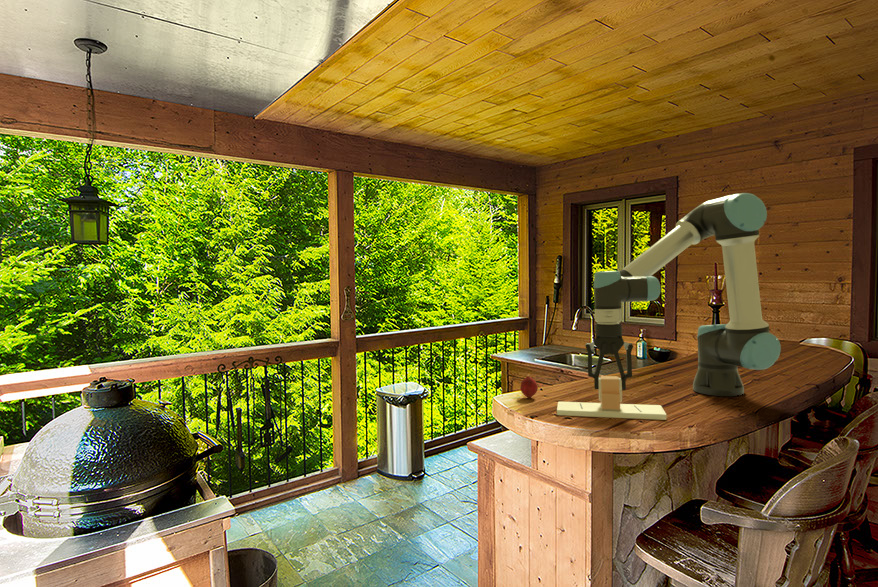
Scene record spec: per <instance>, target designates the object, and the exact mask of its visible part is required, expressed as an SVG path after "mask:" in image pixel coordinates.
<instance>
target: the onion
mask: <svg viewBox="0 0 878 587" xmlns="http://www.w3.org/2000/svg"><path fill="white" fill-rule="evenodd" d="M520 392H521V393H522V394H523V395H524V396H525V397H527V399H531V398H532V397H533V396H535V395H536V394H537V392H538V384H537V381H536V380H535V379H534V378H532V377H531V374H527V375H526V377H525V378H524V379H523V380H522V381H521V383H520Z"/></svg>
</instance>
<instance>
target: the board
mask: <svg viewBox="0 0 878 587" xmlns="http://www.w3.org/2000/svg"><path fill="white" fill-rule="evenodd" d="M556 406H557V408H556V415H557V416H572V417H593V418H595V417H596V418H613V419H614V418H617V419H618V418H619V419H639V420H641V419H642V420H657V421H658V420H663V421H664V420H665V421H666V420H667V413H666V411H665V410H664V408H663V406H662V405H660V404H640V403H639V404H638V403H637V404H635V403H620V412H618V411H602V406H601V402H582V401H581V402H580V401H579V402H578V401H557V405H556Z"/></svg>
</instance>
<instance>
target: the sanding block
mask: <svg viewBox="0 0 878 587" xmlns="http://www.w3.org/2000/svg"><path fill="white" fill-rule="evenodd" d="M600 378H601V395H602V401H600V403H601V406H602V411H618V412H620V404H621V402H620V393H619V378H620V377H619V376H618V375H617V376H615V375H614V376H612V375H610V376H609V375H601V376H600Z"/></svg>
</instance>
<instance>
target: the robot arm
mask: <svg viewBox="0 0 878 587" xmlns="http://www.w3.org/2000/svg"><path fill="white" fill-rule="evenodd" d="M767 217H768V210H767V208H766V205H765V203H764V202H763V201H762V199H761V198H759V197H758V196H757V195H755V194H752V193H749V192H741V193H733V194H729V195H725V196H722V197H718V198H714V199H709V200H707V201H705V202H703V203H701V204H698V206H697V207H695V208H693V209H692V210H691V211H690V212H688V213H687V214H686V215H684V216H683V217H681V219H679V220H678V221H677V222H676V223H675V227H674V228H673V229H672V230H670V231H669V232H668V233H666V235H664V236H663V237H662V238H660V239H658V241H656V242H655V243H654V244H652V245H651V246H650V247H648V248H647V249H646V250H645V251H643V252H642V253H641V254H639V256H637V257H636V258H635V259H633V260H632V261H631V262H630V263H629V264H627V265H625V267H623V268H622V269H621V270H609V271H608V270H606V271H596V272H595V273H594V275H593V278H594V279H593V292H594V293H593V294H594V321H595V322H596V324H594V333H595V338H594V340H593V341H592V342H590V343H589V342H587V343H585V348H586V351H587V375H588V377H591V378H593V381H594V383H593V384H594V385H593V386H594V390H598V402H601V401H602V395H601V377H600V374H601V369H602V365H603V361H604V358H605V355H614V358H615V362H616V365H617V368H618V372H619V375H620V377H618V378H619V393H620V403H622V402H623V391H626V389H627V384H626V383H627V382H626V381H627V379H629V378H633V364H632V363H633V362H632V360H633V359H632V351H633V349H634V345H633V343H629V342H625V341H624V339H623V327H622V326H623V325H622V323H620V322H622V320H623V318H622V317H623V316H622V303H626V302H627V303H633V302H636V303H637V302H651V301H656V300H657V299H658V298H659V296H660V295H661V284H660V281H659V279H658V278H657V277H655V276H653V275H654V274H655V273H657V272H658V271H660V270H661V269H662V268H663V267H664V266H666V265H667V264H668V263H670V262H671V261H673V259H675V258H676V257H677V256H678V255H680V254H681V253H683V251H684V250H686V249H688V248H689V247H690V246H691V245H697V244H699V243H700V242H701V241H703V240H705V239H707V238H710V237H715V242H716V243H717V244H719V245H721V248H722V251H721V252H722V258H723V267H724V268H723V269H724V276H725V285H726V287H725V288H726V294H727V295H726V296H727V304H728V314H729V321H728V322H727V323H724V324H721V323H720V324H706V325H704V324H703V325H700V326H699V327H698V328H697V336H696V338H697V361H698V362H697V363H698V364H697V366H698V367H697V371H696V374H695V376H694V379H693V382H692V390H693V391H694V392H696V393H699V394H702V395H708V396H714V397H738V396H737V395H739V396H742V394H743V395H744V393H745V386H744V384H743V381H742V379H741V378H742V377H741V375H740V373H739V370H738V369H739V368H738V367H741V368H745V369H747V370H757V371H763V370H766V369H769V368H771V367H772V366H773V365H774V364H775V362H777V361H778V359H779V357H780V354H781V351H782V350H781V348H782V345H781V343H780V342H781V341H780V340H779V338H778V337H777V336H776V335H775V334H774V333H773V334H772V333H771V332H770V324H769V323H768V322H766V321H765V320H764V319H763V313H762V304H761V294H760V286H759V274H758V265H757V255H756V245H755V242H756V240H757V239H758V238H759V237H760V229H761V228H762V227H763V226H764V225H765V222H766V221H767ZM623 346H624V350H625V355H626V373H625V371H624V367H623V364H622V360H621V358H620V354H619V352H620V350H621V348H622V347H623ZM594 348H597V350H598V351H599V354H598V358H597V363H596V367H595V370H594V372H593V350H594Z"/></svg>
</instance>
